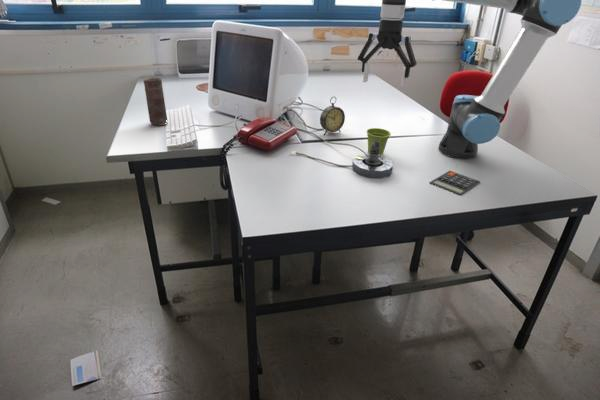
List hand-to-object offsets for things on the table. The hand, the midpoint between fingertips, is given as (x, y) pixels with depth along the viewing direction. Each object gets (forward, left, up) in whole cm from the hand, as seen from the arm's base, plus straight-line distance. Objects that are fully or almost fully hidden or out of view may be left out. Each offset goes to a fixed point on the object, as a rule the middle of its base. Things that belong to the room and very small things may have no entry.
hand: (383, 84), depth 144 cm
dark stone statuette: (-4, +10, -29) cm, 31 cm away
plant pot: (+1, -6, -29) cm, 29 cm away
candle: (+92, +23, -29) cm, 99 cm away
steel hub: (-4, +10, -28) cm, 30 cm away
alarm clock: (+26, -15, -29) cm, 42 cm away
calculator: (-32, +2, -29) cm, 43 cm away
